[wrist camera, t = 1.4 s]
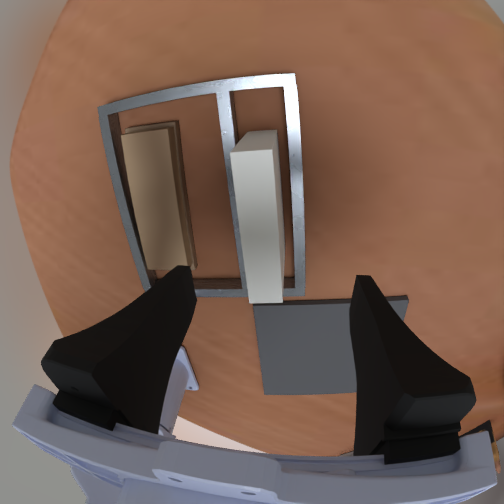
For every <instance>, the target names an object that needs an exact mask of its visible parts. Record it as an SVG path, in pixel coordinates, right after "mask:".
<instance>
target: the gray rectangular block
mask: <svg viewBox="0 0 504 504" xmlns="http://www.w3.org/2000/svg"><path fill="white" fill-rule="evenodd" d="M230 158H231V166H232V174H233V182H234V190H235V198H236V206H237V213H238V221H239V229H240V236H241V244H242V252H243V259H244V267H245V274H246V282H247V289H248V297H249V303H283V286H284V263H285V234H284V217H283V201H282V186H281V172H280V158H279V146H278V133H277V129H276V130H261V131H248V132H247V133H246V134H245V135H244V137H243V138H242V139H241V140H240V141H239V142H238V144H237V145H236V146H235V147H234V148H233V149H232V151H231V152H230Z"/></svg>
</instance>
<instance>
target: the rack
mask: <svg viewBox="0 0 504 504" xmlns="http://www.w3.org/2000/svg"><path fill="white" fill-rule="evenodd" d="M280 86H284V96H285V107H286V119H287V132H288V146H289V161H290V176H291V194H292V213H293V236H294V263H295V277H292V278H284V286H283V297H284V296H305V226H304V195H303V172H302V153H301V136H300V121H299V108H298V95H297V86H296V81H295V73H292V74H274V75H261V76H250V77H240V78H232V79H224V80H217V81H210V82H203V83H197V84H191V85H186V86H180V87H175V88H170V89H165V90H161V91H156V92H152V93H147V94H143V95H139V96H135V97H131V98H127V99H124V100H120V101H116V102H113V103H109V104H106V105H103V106H99V107H98V113H99V122H100V127H101V133H102V138H103V143H104V148H105V153H106V157H107V162H108V166H109V171H110V175H111V179H112V183H113V187H114V191H115V195H116V199H117V203H118V207H119V211H120V214H121V218H122V221H123V225H124V229H125V232H126V235H127V239H128V242H129V245H130V249H131V252H132V255H133V258H134V261H135V265H136V268H137V271H138V274H139V277H140V280H141V283H142V285H143V288H144V290H145V292H146V291H147V290H149V289H150V288H151V287H152V286H153V285H154V284H156V283H157V282H158V281H159V280H160V279H157V276H156V273H155V270H150V269H148V268H147V264H146V260H145V256H144V252H143V248H142V244H141V239H140V235H139V231H138V226H137V222H136V217H135V212H134V208H133V203H132V198H131V192H130V187H129V182H128V176H127V170H126V165H125V159H124V152H123V146H122V139H121V129H120V124H119V118H118V112H121V111H124V110H128V109H132V108H137V107H141V106H145V105H150V104H154V103H159V102H164V101H169V100H174V99H180V98H185V97H191V96H197V95H204V94H211V93H216V94H217V103H218V111H219V119H220V127H221V135H222V142H223V150H224V158H225V166H226V173H227V181H228V188H229V196H230V203H231V211H232V218H233V225H234V232H235V240H236V247H237V254H238V261H239V268H240V275H241V279H193V283H194V288H195V293H196V297H248V289H247V282H246V274H245V267H244V259H243V252H242V244H241V236H240V229H239V221H238V213H237V206H236V198H235V190H234V182H233V174H232V166H231V158H230V152H231V151H232V149H233V148H234V147H235V146H236V145H237V144H238V142H239V140H238V131H237V123H236V114H235V105H234V97H233V91H234V90H243V89H253V88H265V87H280Z"/></svg>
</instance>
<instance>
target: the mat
mask: <svg viewBox="0 0 504 504" xmlns="http://www.w3.org/2000/svg"><path fill="white" fill-rule="evenodd" d="M385 298H386V299H387V301H388V302H389V303H390V305H391V306H392V308H393V309H394V310H395V312H396V313H397V314H398V316H399V317H400V318H401V319H402V320H403V321H404V317H405V313H406V309H407V306H408V302H409V299H408V297H407V296H396V297H385ZM350 304H351V299H337V300H308V301H283V303H253V310H254V318H255V326H256V333H257V341H258V349H259V357H260V364H261V372H262V380H263V387H264V395H312V394H336V393H352V392H357V382H356V370H355V363H354V356H353V349H352V342H351V335H350V323H349V308H350Z"/></svg>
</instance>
